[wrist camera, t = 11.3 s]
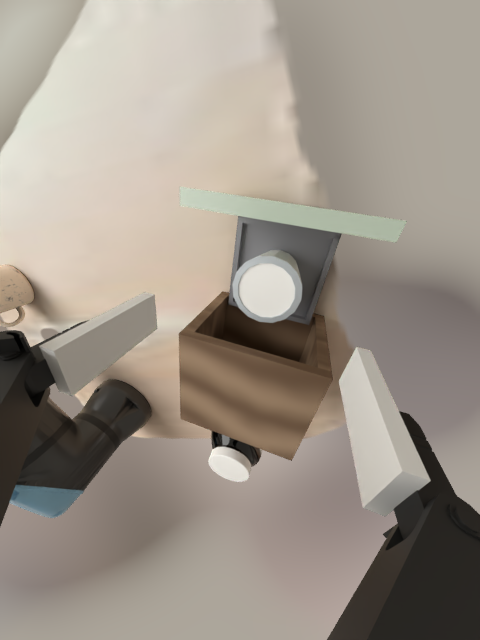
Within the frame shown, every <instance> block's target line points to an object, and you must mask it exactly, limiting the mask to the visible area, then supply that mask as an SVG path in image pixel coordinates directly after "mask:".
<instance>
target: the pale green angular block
mask: <svg viewBox="0 0 480 640" xmlns="http://www.w3.org/2000/svg"><path fill="white" fill-rule="evenodd" d="M180 206H184V207H190V208H195V209H201V210H207V211H213V212H219V213H225V214H231V215H236V216H238V224H237V232H236V241H235V250H234V259H233V267H232V276H231V285H230V293H229V302H228V305H232V306H236V307H238V305H237V303H236V301H235V299H234V297H233V285H232V284H233V281H234V278H235V275H236V272H237V271H238V270H239V269H240V267H241V266H242V265H243V264H244V263H245V262H246V261H249V260H251V259H253V258H255V257H257V256H259V255H262V254H264V253H266V252H268V251H271V250H282V251H284V252H287V253H289V254H290V255H291V256H292V257H293V258H294V259H295V260H296V263H297V266H298V269H299V273H300V277H301V282H302V298H301V302H300V303H299V305H298V307H297V309H296V310H295V312H294V313H292V314H291V315H290V316H288V317H287V318H286V319H287V320H291V321H295V322H299V323H303V324H307V325H309V324H310V321H311V318H312V315H313V312H314V310H315V307H316V304H317V301H318V298H319V296H320V293H321V290H322V287H323V284H324V282H325V279H326V276H327V273H328V270H329V268H330V265H331V262H332V259H333V256H334V254H335V251H336V248H337V245H338V242H339V239H340V237H341V233H342V234H348V235H354V236H360V237H365V238H371V239H377V240H383V241H389V242H395V243H396V242H397V240H398V238H399V236H400V234H401V232H402V230H403V228H404V226H405V224H406V222H407V221H403V220H396V219H390V218H383V217H377V216H370V215H364V214H356V213H350V212H344V211H337V210H331V209H324V208H318V207H311V206H304V205H298V204H291V203H285V202H278V201H272V200H265V199H258V198H252V197H245V196H239V195H232V194H225V193H219V192H212V191H206V190H199V189H192V188H186V187H180Z"/></svg>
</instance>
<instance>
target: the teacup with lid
mask: <svg viewBox="0 0 480 640" xmlns="http://www.w3.org/2000/svg"><path fill="white" fill-rule="evenodd" d="M33 299H34V292H33V289H32V286H31V285H30V283H29V281H28V280H27V279H26V277H25V276H24V275H23V274H22V273H21V272H20V271H18V270H17V269H16V268H14V267H12V266H9V265H0V313H2V312H5V311H8V310H11V309H14V308H16V309H17V311H18V312H19V317H18V319H17V320H16V321H15V322H13V323H4V322H2V321H0V326H3V327H12V326H15V325H17V324H19V323H20V322H21V321H22V320H23V319H24V317H25V312H24V310H23V308H22V307H21V306H23V305H26V304H29V303H31V302H32V301H33Z"/></svg>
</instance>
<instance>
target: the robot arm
mask: <svg viewBox="0 0 480 640" xmlns="http://www.w3.org/2000/svg"><path fill="white" fill-rule="evenodd" d="M156 329H157V319H156V306H155V295H154V294H150V293H146V292H144V293H142V294H140V295H138V296H136V297H134V298H132V299H130V300H128V301H126V302H124V303H122V304H120V305H118V306H117V307H115V308H113V309H111V310H109V311H107V312H105V313H103V314H101V315H99V316H97V317H95V318H93V319H91V320H88V321H85V322H81V323H79V324H77V325H75V326H73V327H71V328H70V329H67V330H65V331H63V332H62V333H59V334H57V335H55V336H53V337H51V338H49V339H47V340H45V341H43V342H41V343H39V344H37V345H35V346H33V347H30V346H29V344H28V341H27V339H26V337H25V335H24V334H23V333H22V332H21V331H16V330H13V331H3V332H0V526H1V523H2V520H3V518H4V515H5V513H6V510H7V507H8V505H9V503H11V504H13V505H16V506H18V507H20V508H23V509H25V510H28V511H31V512H33V513H36V514H38V515H42V516H44V517H48V518H55V517H58V516H60V515H62V514H63V513H64V512H65V511H66V510H67V509H68V508H69V507H70V506H71V505H72V503H73V502H74V501H75V500H76V499H77V498H78V497H79V496H80V494H82V493H83V492H84V490H85V488H86V487H87V486H88V485H89V483H90V482H91V481H92V479H93V478H94V477H95V476H96V474H97V473H98V472H99V471H100V469H101V468H102V467H103V465H104V464H105V463H106V462H107V460H108V459H109V458H110V457H111V455H112V454H113V453H114V451H115V450H116V449H117V448H118V446H119V445H120V444H121V443H122V442H123V441H124V440H126V439H127V438H128V437H130V436H131V435H132V434H134V433H135V432H136V431H137V430H139V429H140V428H142V427H143V426H144V425H145V424H146V422H147V421H148V420H149V418H150V417H151V409H150V406H149V404H148V402H147V401H146V399H145V398H144V397H143V396H142V395H141V394H140V393H139V392H138V391H137V390H136V389H134V388H133V387H131V386H130V385H128V384H126V383H124V382H121V381H118V380H106V381H104V382H103V383H102V384H101V385H100V386H98V387H97V388H96V390H95V391H94V393H93V394H92V396H91V397H90V399H89V400H88V402H87V403H86V405H85V406H84V408H83V409H82V411H81V412H80V413H79V414H78V415H77V416H76V417H75V418H73V419H71V418H70V417H69V416H68V415H67V414H66V413H65V412H64V411H63V410H61V409H60V408H59V407H58V406H57V405H56V404H55V403H54V402H53V401H52V400H51V399H50V398H49V395H50V388H49V386H51V385H52V384H54V383H56V385H57V388H58V390H59V391H60V392H62V393H65V394H67V395H70V396H73V395H74V394H76V393H77V392H78V391H79V390H81V389H82V388H83V387H84V386H86V385H87V384H88V383H89V382H91V381H92V380H93V379H94V378H96V377H97V376H98V375H99V374H101V373H102V372H103V371H104V370H106V369H107V368H108V367H109V366H111V365H112V364H113V363H114V362H116V361H117V360H118V359H119V358H121V357H122V356H123V355H124V354H126V353H127V352H128V351H130V350H131V349H132V348H133V347H135V346H136V345H137V344H138V343H140V342H141V341H142V340H143V339H145V338H146V337H147V336H148V335H150V334H151V333H152V332H153V331H155V330H156ZM339 385H340V390H341V396H342V401H343V406H344V411H345V417H346V422H347V427H348V432H349V437H350V442H351V448H352V453H353V458H354V464H355V469H356V474H357V480H358V485H359V490H360V495H361V500H362V506H363V508H364V509H367V510H369V511H372V512H375V513H377V514H380V515H382V516H387V515H388V514H389V513H391V512H392V511H393V510H394V511H395V514H396V518H397V522H398V524H397V525H395V526H394V527H392V528H391V529H389V530H388V531H387V532H385V533H384V534H383V535H384V536H385V537H386V538H387V539H386V540H385V542H384V544H383V546H382V547H381V549H380V551H379V552H378V554H377V556H376V557H375V559H374V561H373V563H372V564H371V566H370V568H369V569H368V571H367V573H366V575H365V576H364V578H363V580H362V581H361V583H360V585H359V586H358V588H357V590H356V591H355V593H354V595H353V597H352V598H351V600H350V602H349V603H348V605H347V607H346V609H345V610H344V612H343V614H342V615H341V617H340V619H339V620H338V622H337V624H336V626H335V627H334V629H333V631H332V632H331V634H330V636H329V637H328V639H327V640H480V515H479V514H478V513H477V512H476V511H475V510H474V509H473V508H472V507H471V506H470V505H469V504H467V503H466V502H464V501H463V500H462V499H460V498H459V497H457V495H456V494H455V492H454V490H453V488H452V486H451V484H450V482H449V481H448V479H447V477H446V475H445V473H444V471H443V469H442V467H441V465H440V463H439V462H438V460H437V458H436V456H435V454H434V452H432V448H431V446H430V444H429V443H428V441H426V437H425V435H424V433H423V431H422V429H421V427H420V426H419V425H418V424H417V422H416V421H415V420H414V419H413V418H412V417H411V416H410V415H409V414H407V413H403V412H400V411H398V409H397V406H396V405H395V402H394V400H393V398H392V395H391V393H390V391H389V389H388V387H387V385H386V382H385V380H384V378H383V376H382V374H381V372H380V369H379V367H378V365H377V363H376V361H375V359H374V356H373V354H372V352H371V350H367V349H363V348H360V347H356V349H355V351H354V353H353V355H352V356H351V358H350V360H349V362H348V364H347V366H346V368H345V370H344V372H343V374H342V376H341V377H340V379H339Z"/></svg>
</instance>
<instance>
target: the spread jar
mask: <svg viewBox="0 0 480 640" xmlns="http://www.w3.org/2000/svg"><path fill="white" fill-rule="evenodd" d="M207 430H209V429H207ZM211 439H212V448H213V450H212V452H211V455H210V457H209V460H208V463H209V465H210V467H211V469H212V470H213V471H214V472H215V473H217V474H218V475H220V476H221V477H223V478H225V479H227V480H231V481H235V482H244V481H246V480H248V478H249V475H250V471H251V467H252V466H254V465H255V464H257V463H258V461H259V459H260V457H261V453H262V449H259V448H257V447H254V446H251V445H249V444H246V443H243V442H241V441H238V440H235V439H233V438H230V437H227V436H225V435H222V434H219V433H217V432H214V431H212V436H211Z"/></svg>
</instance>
